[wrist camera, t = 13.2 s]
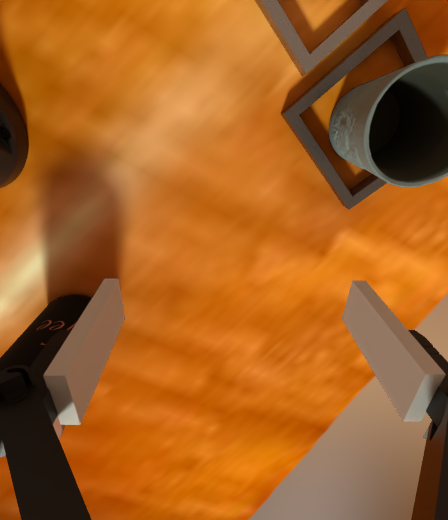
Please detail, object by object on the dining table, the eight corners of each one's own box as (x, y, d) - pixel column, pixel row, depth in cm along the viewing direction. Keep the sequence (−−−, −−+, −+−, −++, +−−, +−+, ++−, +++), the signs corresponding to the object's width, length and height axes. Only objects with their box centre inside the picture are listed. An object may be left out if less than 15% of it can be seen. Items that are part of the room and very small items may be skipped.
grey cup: (305, 140, 36) (340, 152, 25) (360, 52, 32) (429, 22, 22) (369, 181, 38) (426, 207, 28) (428, 103, 34) (521, 99, 24)
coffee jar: (129, 322, 48) (82, 427, 32) (87, 354, 51) (25, 464, 35) (77, 278, 45) (-6, 372, 29) (34, 315, 48) (-62, 418, 32)
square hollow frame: (280, 113, 35) (284, 113, 33) (394, 13, 31) (405, 7, 29) (343, 205, 40) (348, 209, 38) (448, 129, 36) (460, 130, 34)
